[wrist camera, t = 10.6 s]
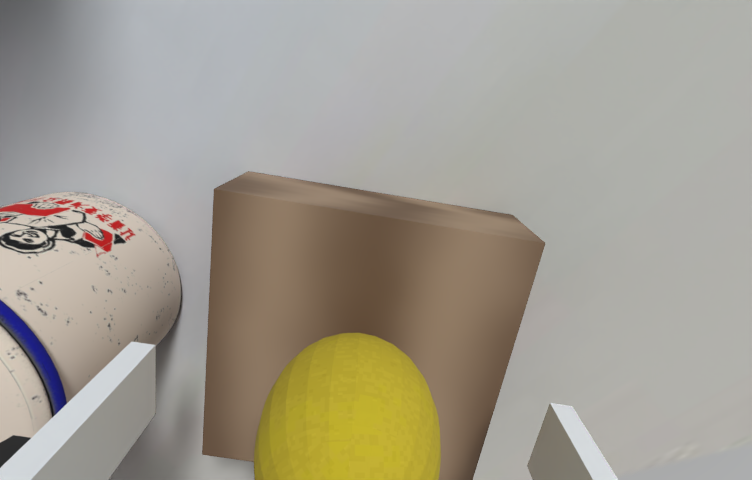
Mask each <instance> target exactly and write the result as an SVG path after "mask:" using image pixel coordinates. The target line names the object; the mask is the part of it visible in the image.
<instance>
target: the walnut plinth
mask: <svg viewBox="0 0 752 480" xmlns="http://www.w3.org/2000/svg"><path fill="white" fill-rule="evenodd" d="M544 246H545V242H543V241H542V240H541V239H540V238H539V237H538V236H536V235H535V234H534V233H533V232H532V231H531V230H529V229H528V228H527V227H526V226H525V225H524V224H522V223H521V222H520V221H519V220H518V219H517V218H515V217H514V216H513V215H509V214H503V213H497V212H491V211H485V210H479V209H473V208H467V207H461V206H455V205H449V204H443V203H437V202H431V201H425V200H418V199H412V198H406V197H400V196H394V195H388V194H382V193H376V192H370V191H364V190H358V189H352V188H346V187H340V186H334V185H328V184H322V183H316V182H310V181H304V180H298V179H292V178H286V177H280V176H273V175H267V174H261V173H255V172H249V171H248V172H246V173H244V174H242V175H240V176H239V177H237V178H235V179H233V180H231V181H229V182H227V183H225V184H223V185H221V186H219V187H217V188H215V189H214V202H213V224H212V247H211V269H210V292H209V314H208V337H207V360H206V382H205V405H204V427H203V450H202V455H209V456H217V457H224V458H231V459H238V460H245V461H252V462H254V449H255V441H256V435H257V430H258V426H259V423H260V419H261V415H262V411H263V408H264V405H265V402H266V399H267V397H268V394H269V392H270V391H271V389H272V387H273V385H274V384H275V382H276V381H277V379H278V377H279V376H280V374H281V373H282V371H283V370H284V368H285V367H286V365H287V364H288V363H289V362H290V361H291V360H292V359H293V358H294V357H296V356H297V355H298V354H299V353H300V352H301V351H302V350H303V349H305V348H306V347H307V346H309V345H311V344H313V343H315V342H317V341H319V340H321V339H323V338H325V337H329V336H333V335H337V334H341V333H363V334H368V335H373V336H376V337H378V338H381V339H383V340H385V341H387V342H389V343H392V344H393V345H395V346H396V347H397V348H399V349H400V350H401V351H402V352H404V353H405V354H406V355H407V356H408V357H409V358H410V359H411V360H412V361H413V363H414V364H415V365H416V367H417V368H418V370H419V371H420V372H421V374H422V375H423V377H424V378H425V380H426V382H427V384H428V387H429V390H430V393H431V395H432V398H433V401H434V404H435V406H436V409H437V414H438V418H439V426H440V445H441V462H440V473H439V479H438V480H473V476H474V473H475V470H476V467H477V463H478V460H479V457H480V454H481V450H482V447H483V444H484V441H485V437H486V434H487V431H488V428H489V424H490V421H491V418H492V415H493V411H494V408H495V405H496V402H497V398H498V395H499V392H500V389H501V385H502V382H503V379H504V376H505V372H506V369H507V366H508V363H509V359H510V356H511V353H512V350H513V346H514V343H515V340H516V337H517V333H518V330H519V327H520V324H521V320H522V317H523V314H524V311H525V307H526V304H527V301H528V298H529V295H530V291H531V288H532V285H533V282H534V278H535V275H536V272H537V269H538V265H539V262H540V259H541V256H542V252H543V249H544Z"/></svg>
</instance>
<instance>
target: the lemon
mask: <svg viewBox="0 0 752 480" xmlns="http://www.w3.org/2000/svg"><path fill="white" fill-rule="evenodd" d="M440 462H441V445H440V426H439V418H438V414H437V409H436V406H435V404H434V401H433V398H432V395H431V393H430V390H429V387H428V384H427V382H426V380H425V378H424V377H423V375H422V374H421V372H420V371H419V370H418V368H417V367H416V365H415V364H414V363H413V361H412V360H411V359H410V358H409V357H408V356H407V355H406V354H405V353H404V352H402V351H401V350H400V349H399V348H397V347H396V346H395V345H393V344H392V343H389V342H387V341H385V340H383V339H381V338H378V337H376V336H373V335H368V334H363V333H341V334H337V335H333V336H329V337H325V338H323V339H321V340H319V341H317V342H315V343H313V344H311V345H309V346H307V347H306V348H305V349H303V350H302V351H301V352H300V353H299V354H298V355H297V356H296V357H294V358H293V359H292V360H291V361H290V362H289V363H288V364H287V365H286V367H285V368H284V370H283V371H282V373H281V374H280V376H279V377H278V379H277V381H276V382H275V384H274V385H273V387H272V389H271V391H270V392H269V394H268V397H267V399H266V402H265V405H264V408H263V411H262V415H261V419H260V423H259V426H258V430H257V435H256V441H255V449H254V474H255V480H438V479H439V473H440Z"/></svg>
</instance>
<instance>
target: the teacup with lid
mask: <svg viewBox="0 0 752 480" xmlns="http://www.w3.org/2000/svg"><path fill="white" fill-rule="evenodd" d="M180 301H181V283H180V277H179V273H178V269H177V266H176V263H175V261H174V258H173V256H172V254H171V252H170V251H169V249H168V247H167V245H166V244H165V243H164V241H163V240H162V238H161V237H160V236H159V235H158V233H157V232H156V231H155V230H154V229H153V228H152V227H151V226H150V225H149V224H148V223H147V222H146V221H145V220H143V219H142V218H141V217H140V216H138V215H137V214H135V213H134V212H133V211H131V210H129V209H128V208H126V207H124V206H122V205H120V204H118V203H116V202H114V201H111V200H109V199H106V198H103V197H100V196H96V195H92V194H87V193H79V192H60V193H52V194H47V195H43V196H39V197H36V198H32V199H28V200H25V201H21V202H17V203H14V204H10V205H6V206H3V207H0V443H1V442H2V441H4V440H6V439H8V438H9V437H11V436H13V435H15V436H23V437H30V438H32V437H33V436H34V435H35V434H36V433H37V432H38V431H39V430H40V429H41V428H42V427H43V426H44V425H45V424H46V423H47V422H48V421H49V420H50V419H52V418H53V417H54V416H55V415H56V414H57V413H58V412H59V411H60V410H61V409H62V408H63V407H64V406H65V405H66V404H67V403H68V402H69V401H70V400H71V399H72V398H73V397H74V396H75V395H76V394H77V393H79V392H80V391H81V390H82V389H83V388H84V387H85V386H86V385H87V384H88V383H89V382H90V381H91V380H92V379H93V378H94V377H95V376H96V375H97V374H98V373H99V372H100V371H101V370H102V369H103V368H104V367H106V366H107V365H108V364H109V363H110V362H111V361H112V360H113V359H114V358H115V357H116V356H117V355H118V354H119V353H120V352H121V351H122V350H123V349H124V348H125V347H126V346H127V345H128V344H129V343H130V342H131V341H132V342H139V343H145V344H152V345H156V346H157V345H158V343H159V342H160V341H161V340H162V339H163V338H164V337H165V336H166V334H167V333H168V332H169V330H170V329H171V327H172V326H173V324H174V322H175V320H176V317H177V314H178V311H179V307H180Z"/></svg>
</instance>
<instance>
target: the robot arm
mask: <svg viewBox="0 0 752 480" xmlns="http://www.w3.org/2000/svg"><path fill="white" fill-rule="evenodd" d="M155 414H156V345H152V344H145V343H139V342H132V341H131V342H130V343H129V344H128V345H127V346H126V347H125V348H124V349H123V350H122V351H121V352H120V353H119V354H118V355H117V356H116V357H115V358H114V359H113V360H112V361H111V362H110V363H109V364H108V365H107V366H106V367H104V368H103V369H102V370H101V371H100V372H99V373H98V374H97V375H96V376H95V377H94V378H93V379H92V380H91V381H90V382H89V383H88V384H87V385H86V386H85V387H84V388H83V389H82V390H81V391H80V392H79V393H77V394H76V395H75V396H74V397H73V398H72V399H71V400H70V401H69V402H68V403H67V404H66V405H65V406H64V407H63V408H62V409H61V410H60V411H59V412H58V413H57V414H56V415H55V416H54V417H53V418H52V419H50V420H49V421H48V422H47V423H46V424H45V425H44V426H43V427H42V428H41V429H40V430H39V431H38V432H37V433H36V434H35V435H34V436H33V437H32V438H30V437H23V436H15V435H13V436H11V437H9V438H8V439H6V440H4V441H2V442H1V443H0V480H108V479H109V478H110V477H111V475H112V474H113V472H114V471H115V470H116V468H117V467H118V465H119V464H120V463H121V461H122V460H123V458H124V457H125V456H126V454H127V453H128V452H129V450H130V449H131V447H132V446H133V445H134V443H135V442H136V440H137V439H138V438H139V436H140V435H141V434H142V432H143V431H144V429H145V428H146V427H147V425H148V424H149V422H150V421H151V420H152V418H153V417H154V415H155ZM527 466H528V469H529V471H530V474H531V476H532V479H533V480H618V479H617V477H616V475H615V474H614V472H613V471H612V469H611V467H610V466H609V464H608V463H607V461H606V459H605V458H604V456H603V455H602V453H601V451H600V450H599V448H598V447H597V445H596V444H595V442H594V440H593V439H592V437H591V436H590V434H589V432H588V431H587V429H586V428H585V426H584V424H583V423H582V421H581V420H580V418H579V416H578V415H577V413H576V412H575V410H574V408H573V407H572V406H567V405H561V404H554V403H550V404H549V407H548V410H547V413H546V416H545V418H544V421H543V424H542V427H541V429H540V432H539V435H538V438H537V441H536V443H535V446H534V449H533V452H532V454H531V457H530V460H529V463H528V465H527Z"/></svg>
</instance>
